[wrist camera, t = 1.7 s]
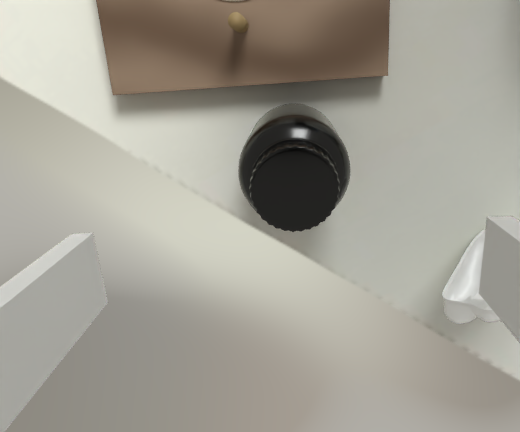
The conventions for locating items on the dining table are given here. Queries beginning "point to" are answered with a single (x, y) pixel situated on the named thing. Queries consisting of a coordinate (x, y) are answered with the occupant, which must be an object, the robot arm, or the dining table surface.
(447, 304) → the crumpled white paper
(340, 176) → the supplement bottle
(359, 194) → the dining table surface
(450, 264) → the dining table surface
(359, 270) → the dining table surface
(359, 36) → the pin board
